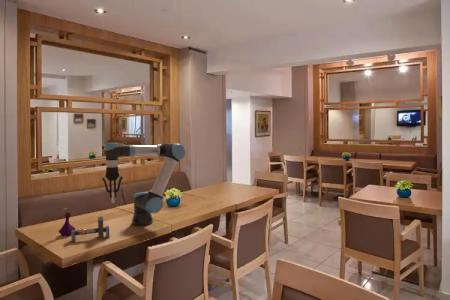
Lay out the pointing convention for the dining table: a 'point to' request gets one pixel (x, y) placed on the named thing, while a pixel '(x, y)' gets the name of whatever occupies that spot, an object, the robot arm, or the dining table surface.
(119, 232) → the dining table surface
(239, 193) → the dining table surface
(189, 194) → the dining table surface
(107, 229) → the pipe stand
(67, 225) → the perfume bottle
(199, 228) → the dining table surface
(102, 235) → the collar
